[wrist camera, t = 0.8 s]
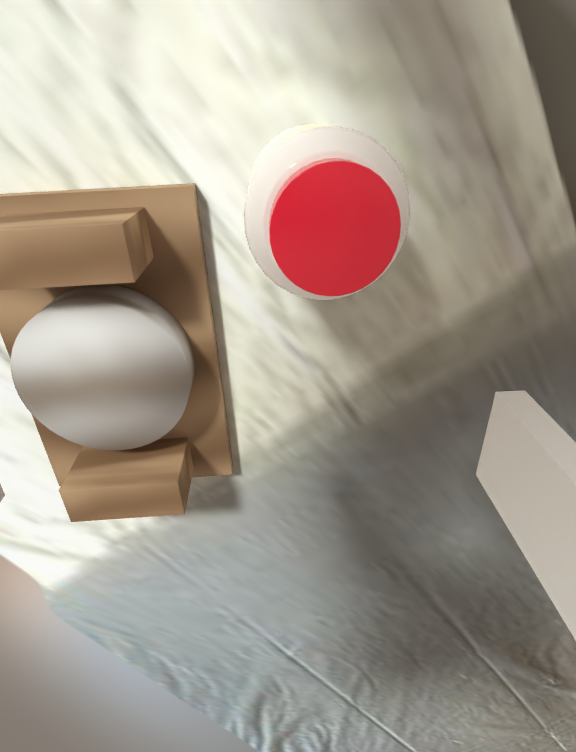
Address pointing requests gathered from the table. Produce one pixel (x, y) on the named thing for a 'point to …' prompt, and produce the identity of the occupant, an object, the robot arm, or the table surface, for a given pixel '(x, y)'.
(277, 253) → the pill bottle
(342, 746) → the table surface
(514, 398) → the robot arm
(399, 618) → the table surface
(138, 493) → the cardboard packaging tray
